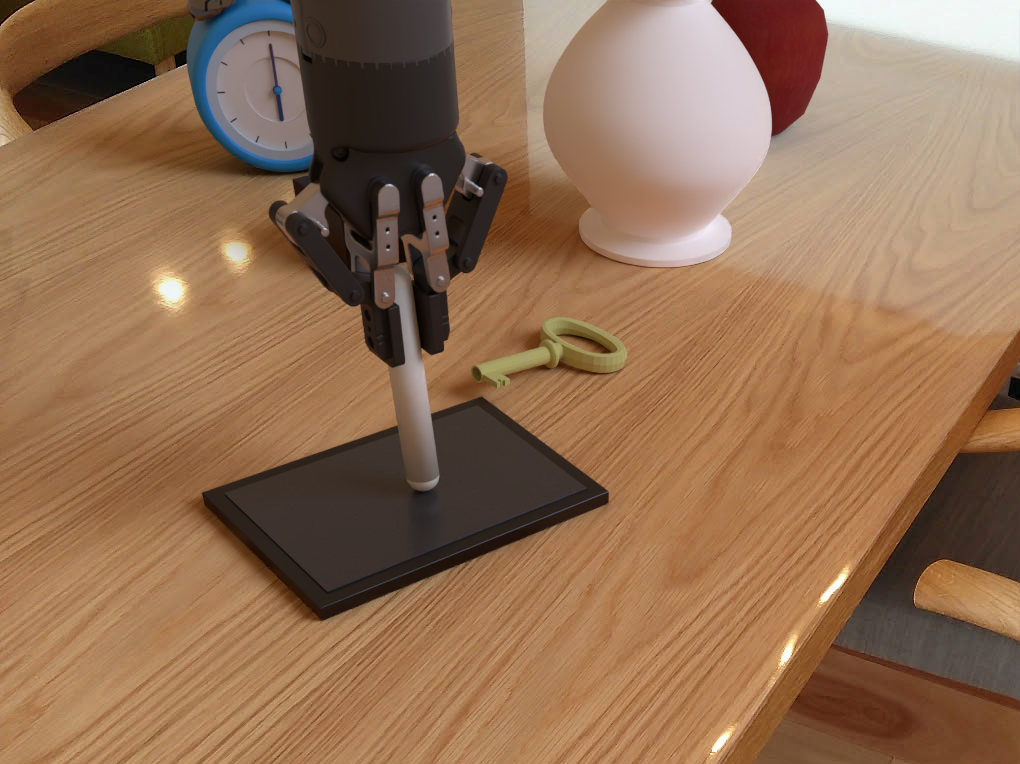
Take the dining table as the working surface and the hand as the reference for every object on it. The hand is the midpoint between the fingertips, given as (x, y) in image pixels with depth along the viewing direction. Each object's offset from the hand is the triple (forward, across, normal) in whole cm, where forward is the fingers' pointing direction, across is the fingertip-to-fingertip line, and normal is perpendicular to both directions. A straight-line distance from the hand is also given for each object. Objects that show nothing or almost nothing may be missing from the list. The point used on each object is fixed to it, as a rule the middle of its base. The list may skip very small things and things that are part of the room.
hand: (409, 353), depth 82 cm
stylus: (+9, 0, 0) cm, 9 cm away
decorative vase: (+10, -36, -22) cm, 44 cm away
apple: (+10, -59, -36) cm, 70 cm away
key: (+10, -16, -10) cm, 21 cm away
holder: (+10, -15, -32) cm, 37 cm away
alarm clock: (+10, -18, -50) cm, 55 cm away
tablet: (+10, +1, 0) cm, 10 cm away
